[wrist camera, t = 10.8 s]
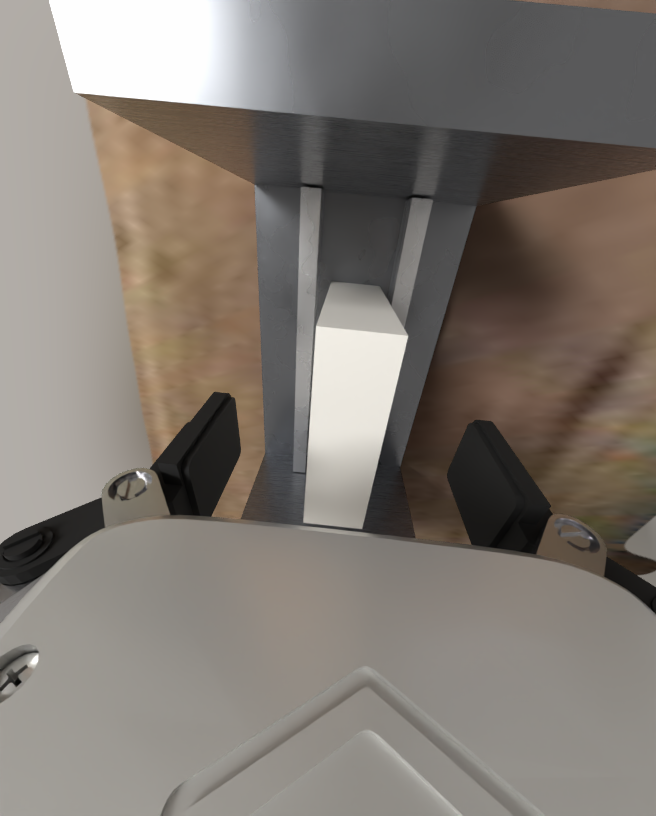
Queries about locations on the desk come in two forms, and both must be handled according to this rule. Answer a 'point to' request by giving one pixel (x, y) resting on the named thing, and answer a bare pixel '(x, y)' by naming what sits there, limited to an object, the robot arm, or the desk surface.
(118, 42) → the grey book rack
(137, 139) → the desk surface
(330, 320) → the door
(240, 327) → the desk surface
